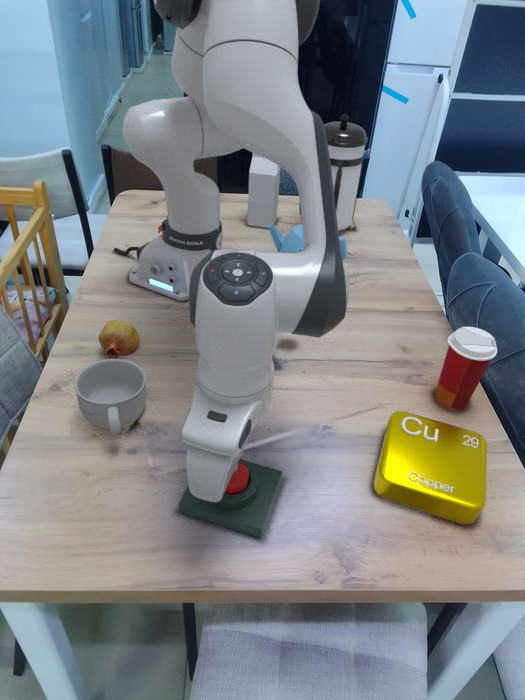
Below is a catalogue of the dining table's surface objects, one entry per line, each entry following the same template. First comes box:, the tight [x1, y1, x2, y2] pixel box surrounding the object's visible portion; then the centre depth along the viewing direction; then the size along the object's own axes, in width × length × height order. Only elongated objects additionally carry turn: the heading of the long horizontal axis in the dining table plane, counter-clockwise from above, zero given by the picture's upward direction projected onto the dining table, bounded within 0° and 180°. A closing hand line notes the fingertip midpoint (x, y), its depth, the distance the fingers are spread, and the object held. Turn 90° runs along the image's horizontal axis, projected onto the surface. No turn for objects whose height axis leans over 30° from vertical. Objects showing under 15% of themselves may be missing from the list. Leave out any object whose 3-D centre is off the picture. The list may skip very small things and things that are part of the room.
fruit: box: [98, 319, 140, 359], centre depth 94 cm, size 7×7×10 cm
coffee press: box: [298, 113, 369, 232], centre depth 131 cm, size 17×16×30 cm
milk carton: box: [247, 152, 282, 229], centre depth 136 cm, size 7×7×19 cm
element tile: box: [373, 410, 488, 525], centre depth 77 cm, size 15×15×5 cm
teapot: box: [268, 223, 349, 261], centre depth 122 cm, size 15×15×11 cm
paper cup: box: [434, 326, 498, 412], centre depth 86 cm, size 8×8×14 cm
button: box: [225, 462, 249, 494], centre depth 70 cm, size 4×4×2 cm
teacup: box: [73, 358, 147, 435], centre depth 80 cm, size 14×11×8 cm
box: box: [178, 458, 283, 539], centre depth 72 cm, size 12×10×4 cm
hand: (233, 462), depth 68 cm, fingers closed
